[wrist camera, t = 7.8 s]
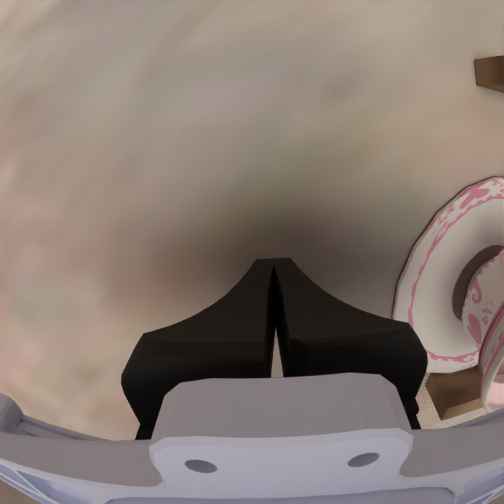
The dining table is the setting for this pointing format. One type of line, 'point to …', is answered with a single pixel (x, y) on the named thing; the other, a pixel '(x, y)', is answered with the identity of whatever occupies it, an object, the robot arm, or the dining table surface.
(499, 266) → the teacup
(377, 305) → the dining table surface
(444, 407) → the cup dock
